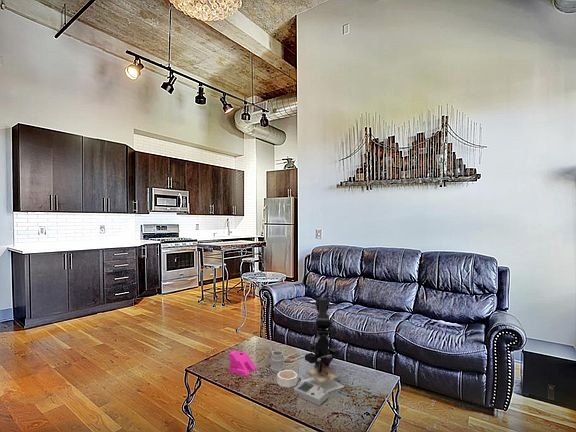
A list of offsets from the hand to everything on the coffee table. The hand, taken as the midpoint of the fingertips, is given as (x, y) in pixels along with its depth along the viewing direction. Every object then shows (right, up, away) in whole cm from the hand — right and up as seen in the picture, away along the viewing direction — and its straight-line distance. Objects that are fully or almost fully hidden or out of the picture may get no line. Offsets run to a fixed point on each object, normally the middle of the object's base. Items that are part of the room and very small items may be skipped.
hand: (322, 371), depth 168 cm
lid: (0, -1, 0) cm, 1 cm away
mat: (0, -7, 0) cm, 7 cm away
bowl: (-18, -6, +1) cm, 19 cm away
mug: (-25, -7, +16) cm, 31 cm away
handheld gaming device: (-6, -6, -12) cm, 15 cm away
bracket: (-43, -6, +14) cm, 46 cm away
